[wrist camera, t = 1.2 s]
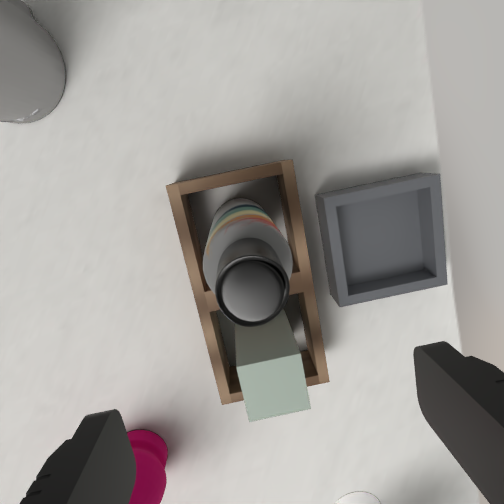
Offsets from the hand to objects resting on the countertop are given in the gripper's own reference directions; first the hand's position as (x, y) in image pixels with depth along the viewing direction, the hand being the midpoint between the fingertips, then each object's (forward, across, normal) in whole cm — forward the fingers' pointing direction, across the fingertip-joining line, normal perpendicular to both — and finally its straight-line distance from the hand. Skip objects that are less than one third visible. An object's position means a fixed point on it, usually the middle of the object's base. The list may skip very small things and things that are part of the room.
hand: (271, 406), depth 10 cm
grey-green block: (+28, 0, +11) cm, 30 cm away
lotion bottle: (+28, 0, 0) cm, 28 cm away
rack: (+28, 0, +5) cm, 29 cm away
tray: (+28, -14, +4) cm, 32 cm away
